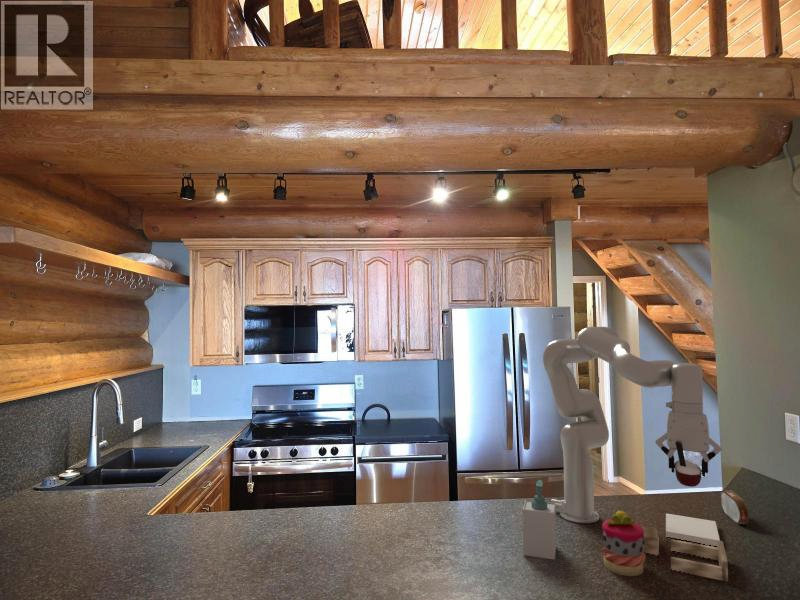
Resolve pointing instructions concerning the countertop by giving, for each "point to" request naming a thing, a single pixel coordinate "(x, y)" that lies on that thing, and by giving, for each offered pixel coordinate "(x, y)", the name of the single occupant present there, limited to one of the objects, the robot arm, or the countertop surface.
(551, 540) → the soap bottle
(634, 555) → the cake
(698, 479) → the cocoa
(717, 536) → the cutting board
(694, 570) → the frame
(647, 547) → the offcut lower
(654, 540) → the offcut upper
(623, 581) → the countertop surface
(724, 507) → the tin
